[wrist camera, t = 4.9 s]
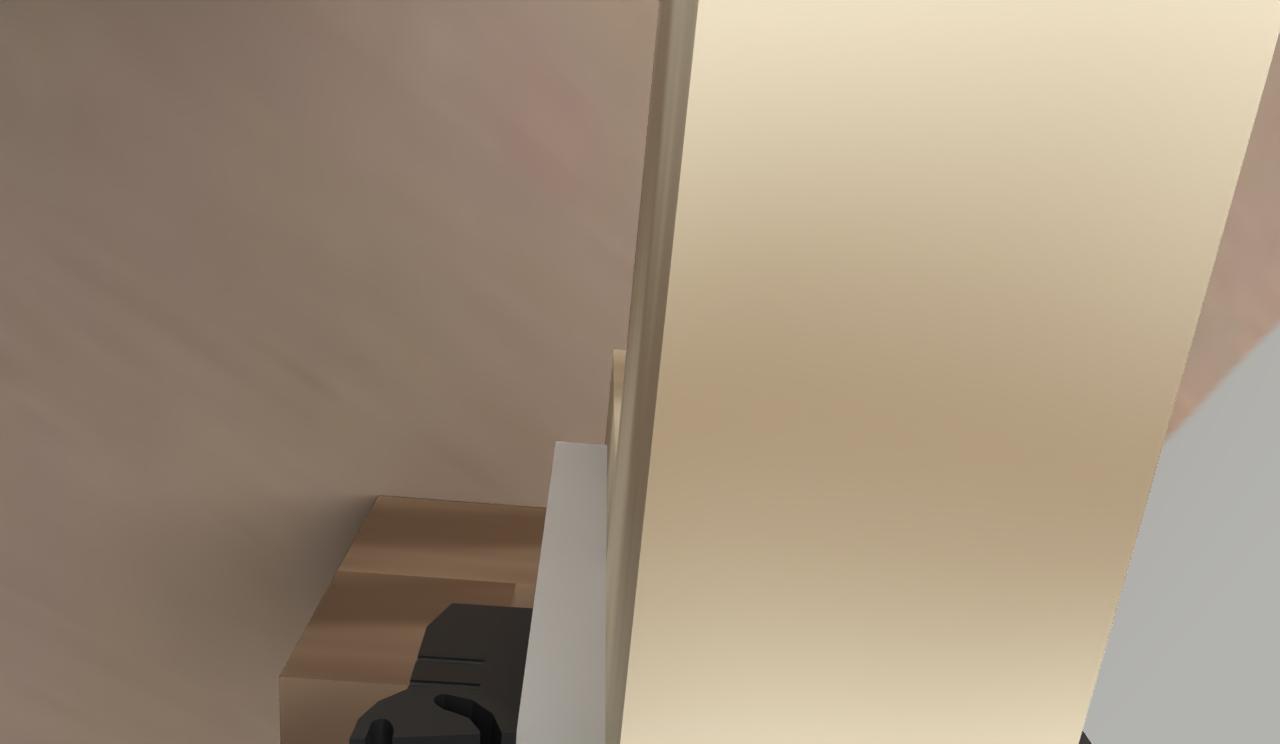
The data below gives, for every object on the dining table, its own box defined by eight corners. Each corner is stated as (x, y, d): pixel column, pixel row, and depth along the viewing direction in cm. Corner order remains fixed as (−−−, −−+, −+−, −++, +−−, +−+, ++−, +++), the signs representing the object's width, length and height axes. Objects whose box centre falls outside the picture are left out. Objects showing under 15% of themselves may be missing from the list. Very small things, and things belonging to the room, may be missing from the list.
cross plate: (680, -397, 12) (855, -1492, 3) (922, -366, 12) (1663, -1338, 4) (590, 607, 16) (569, 1226, 8) (768, 619, 16) (940, 1237, 8)
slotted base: (378, 495, 29) (279, 676, 21) (843, 530, 30) (934, 720, 21) (377, 584, 30) (281, 794, 22) (828, 617, 31) (909, 832, 22)
